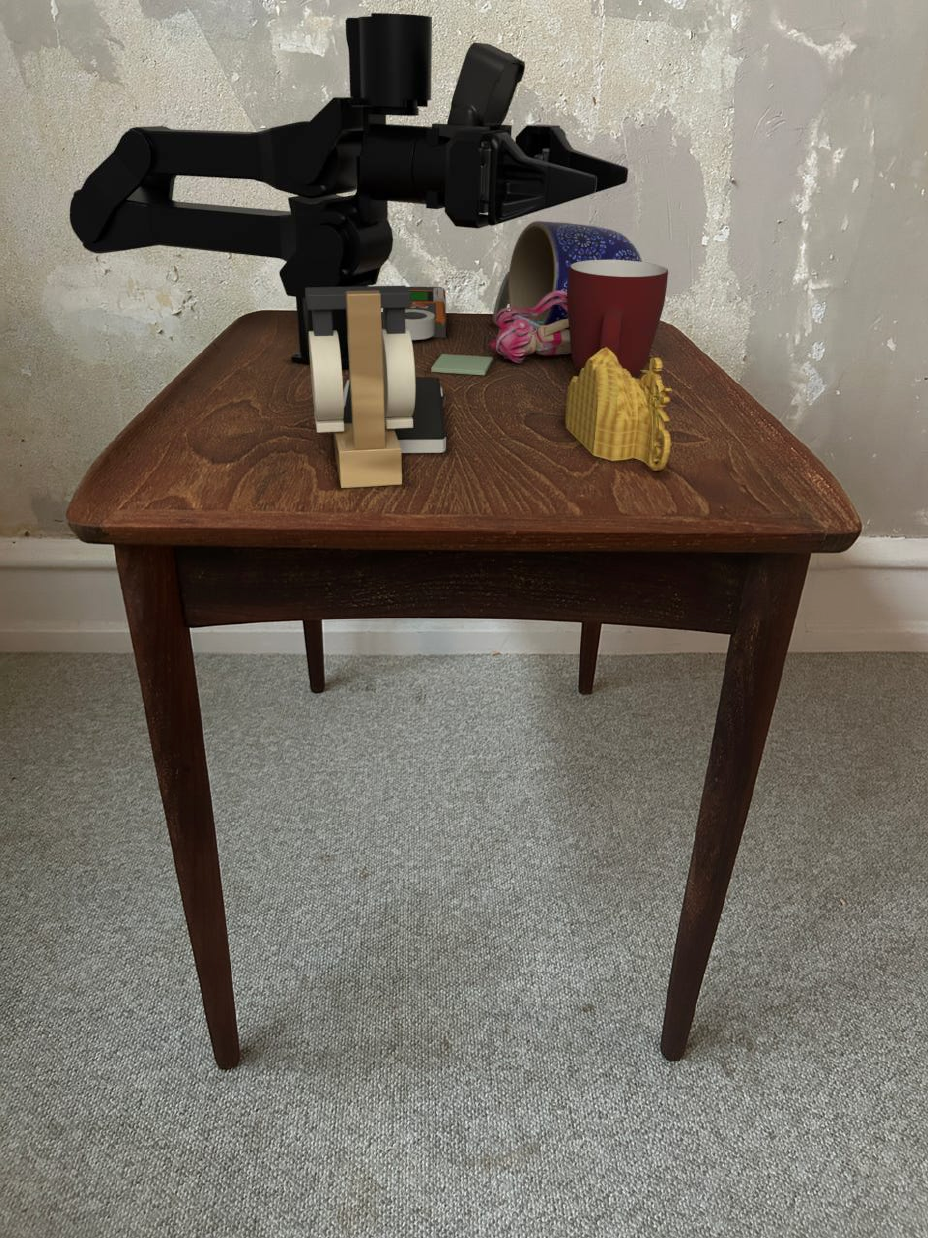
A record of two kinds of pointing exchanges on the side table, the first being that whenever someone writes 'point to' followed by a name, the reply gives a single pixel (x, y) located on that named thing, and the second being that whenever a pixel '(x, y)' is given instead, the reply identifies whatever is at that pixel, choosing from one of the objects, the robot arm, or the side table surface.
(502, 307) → the figurine
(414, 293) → the electronic device
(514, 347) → the toy
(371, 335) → the hook stand
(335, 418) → the headphones
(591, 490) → the side table surface
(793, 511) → the side table surface
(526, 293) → the planter
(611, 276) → the mug
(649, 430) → the figurine
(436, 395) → the smartphone
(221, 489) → the side table surface
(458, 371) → the felt mat
